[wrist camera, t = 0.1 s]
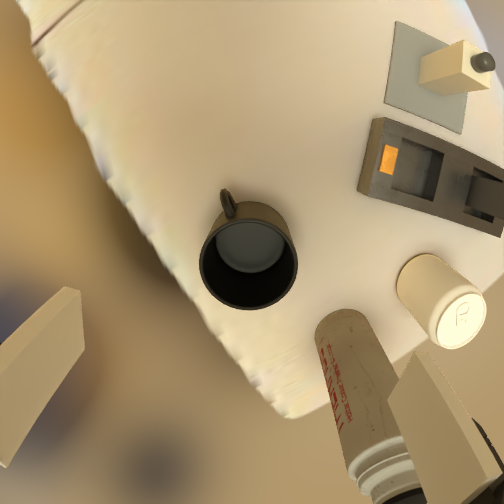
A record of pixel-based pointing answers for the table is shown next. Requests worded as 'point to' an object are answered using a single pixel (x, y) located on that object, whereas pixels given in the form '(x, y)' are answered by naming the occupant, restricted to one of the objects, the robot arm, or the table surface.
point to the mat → (406, 81)
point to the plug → (456, 69)
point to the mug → (248, 256)
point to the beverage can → (441, 301)
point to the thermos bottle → (366, 409)
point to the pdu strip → (425, 174)
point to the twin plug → (486, 196)
